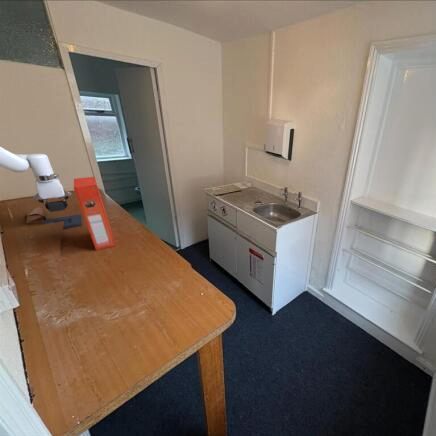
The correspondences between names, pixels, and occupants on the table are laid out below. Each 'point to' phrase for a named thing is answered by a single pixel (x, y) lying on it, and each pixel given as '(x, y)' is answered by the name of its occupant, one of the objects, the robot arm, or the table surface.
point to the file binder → (94, 212)
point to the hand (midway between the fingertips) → (57, 208)
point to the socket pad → (67, 221)
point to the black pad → (56, 206)
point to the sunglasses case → (36, 216)
